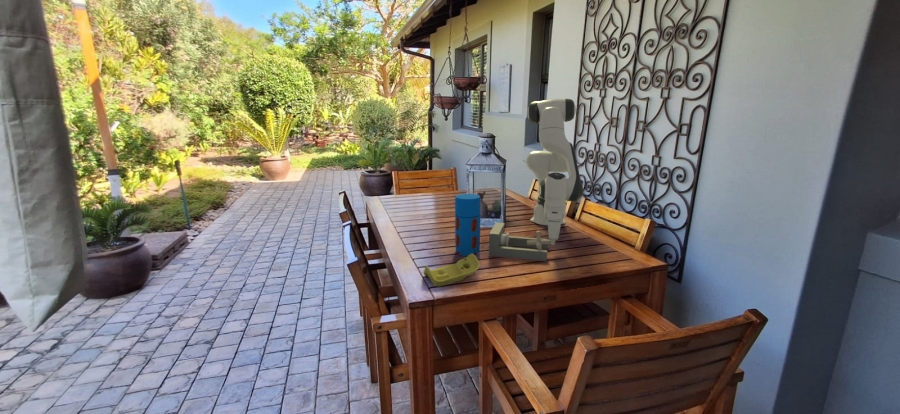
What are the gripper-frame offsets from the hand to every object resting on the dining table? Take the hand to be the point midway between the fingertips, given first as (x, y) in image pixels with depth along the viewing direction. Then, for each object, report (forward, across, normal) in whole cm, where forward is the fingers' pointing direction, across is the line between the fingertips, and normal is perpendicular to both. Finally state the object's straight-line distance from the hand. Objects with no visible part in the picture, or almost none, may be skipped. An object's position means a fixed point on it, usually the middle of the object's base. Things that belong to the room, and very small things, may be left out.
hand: (552, 243), depth 169 cm
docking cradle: (+5, -1, -14) cm, 15 cm away
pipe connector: (+5, 0, -5) cm, 7 cm away
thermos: (+5, +4, -36) cm, 37 cm away
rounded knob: (+3, -1, -23) cm, 23 cm away
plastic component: (+6, +33, -36) cm, 49 cm away
